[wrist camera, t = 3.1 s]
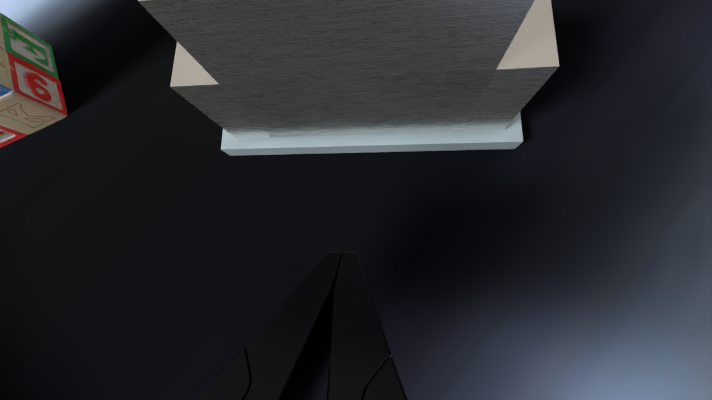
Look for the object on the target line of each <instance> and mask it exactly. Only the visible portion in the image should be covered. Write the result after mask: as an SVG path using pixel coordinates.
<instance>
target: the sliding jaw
mask: <svg viewBox="0 0 712 400" xmlns="http://www.w3.org/2000/svg"><path fill="white" fill-rule="evenodd" d="M138 2H139V3H140V4H141V5H142V6H143V7H144V8H145V9H146V10H147V11H148V12H149V13H150V14H151V15H152V16H153V17H154V18H155V19H156V20H157V21H158V22H159V23H160V24H161V25H162V26H163V27H164V28H165V29H166V30H167V31H168V32H169V33H170V34H171V35H172V37H173V38H174V39H175V40H176V41H177V46H176V52H175V59H174V65H173V72H172V78H171V85H170V87H171V88H172V89H174V90H175V91H176V92H178V93H179V94H180V95H181V96H183V97H184V98H185V99H186V100H188V101H189V102H190V103H192V104H193V105H194V106H195V107H197V108H198V109H199V110H200V111H202V112H203V113H204V114H206V115H207V116H208V117H209V118H211V119H212V120H213V121H214V122H216V123H217V124H218V125H220V126H221V127H222V128H223V129H225V130H226V131H227V132H228V133H230V134H231V135H232V136H234V137H235V138H265V137H298V136H330V135H363V134H396V133H429V132H462V131H495V130H504V129H505V128H506V127H507V126H508V124H509V123H510V122H511V121H512V120H513V119H514V118H515V116H516V115H517V114H518V113H519V112H520V111H521V110H522V108H523V107H524V106H525V105H526V104H527V103H528V102H529V100H530V99H531V98H532V97H533V96H534V95H535V94H536V92H537V91H538V90H539V89H540V88H541V87H542V86H543V84H544V83H545V82H546V81H547V80H548V79H549V78H550V76H551V75H552V74H553V73H554V72H555V71H556V69H557V68H558V67H559V60H558V52H557V44H556V37H555V29H554V21H553V14H552V6H551V0H138Z"/></svg>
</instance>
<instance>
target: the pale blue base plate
mask: <svg viewBox="0 0 712 400" xmlns="http://www.w3.org/2000/svg"><path fill="white" fill-rule="evenodd" d="M522 142H523V135H522V125H521V115H520V112H519V113H518V114H517V115H516V116H515V118H514V119H513V120H512V121H511V122H510V123H509V124H508V126H507V127H506V128H505V129H504V130H495V131H462V132H429V133H396V134H363V135H330V136H298V137H265V138H235V137H234V136H232V135H231V134H230V133H228V132H227V131H226V130H225V129H223V135H222V144H221V150H223V151H224V152H226V153H227V154H229V155H230V156H231V155H274V154H316V153H359V152H401V151H444V150H487V149H515V148H516V147H518V146H519V145H520V144H521V143H522Z"/></svg>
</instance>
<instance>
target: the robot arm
mask: <svg viewBox="0 0 712 400" xmlns="http://www.w3.org/2000/svg"><path fill="white" fill-rule="evenodd" d="M326 396H327V400H408V399H407V397H406V394H405V391H404V389H403V386H402V383H401V381H400V378H399V375H398V372H397V369H396V366H395V363H394V360H393V358H392V357H391V352H390V349H389V346H388V343H387V340H386V337H385V334H384V331H383V328H382V325H381V322H380V319H379V316H378V313H377V310H376V307H375V304H374V301H373V298H372V295H371V292H370V289H369V286H368V283H367V280H366V277H365V274H364V271H363V268H362V265H361V262H360V259H359V256H358V253H357V252H347V251H345V252H343V253H342V252H341V251H329V252H327V253H326V254H325V255H324V257H323V258H322V259H321V260H320V261H319V262H318V263H317V265H316V266H315V267H314V268H313V269H312V270H311V272H310V273H309V274H308V275H307V276H306V277H305V278H304V280H303V281H302V282H301V283H300V284H299V285H298V286H297V288H296V289H295V290H294V291H293V292H292V293H291V294H290V296H289V297H288V298H287V299H286V300H285V301H284V302H283V304H282V305H281V306H280V307H279V308H278V309H277V310H276V312H275V313H274V314H273V315H272V316H271V317H270V318H269V320H268V321H267V322H266V323H265V324H264V325H263V327H262V328H261V329H260V330H259V331H258V332H257V333H256V335H255V336H254V337H253V338H252V339H251V340H250V341H249V343H248V344H247V345H246V349H245V348H243V349H242V350H241V352H240V353H239V354H238V355H237V356H236V357H235V358H234V360H233V361H232V362H231V363H230V364H229V365H228V366H227V367H226V368H225V369H224V371H223V372H222V373H221V374H220V375H219V376H218V377H217V378H216V379H215V380H214V382H213V383H212V384H211V385H210V386H209V387H208V388H207V389H206V390H205V391H204V392H203V393H202V394H201V395H200V396H199V397H198V398H197V399H196V400H326Z"/></svg>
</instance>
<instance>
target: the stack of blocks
mask: <svg viewBox="0 0 712 400" xmlns="http://www.w3.org/2000/svg"><path fill="white" fill-rule="evenodd" d="M67 116H68V114H67V109H66V105H65V101H64V96H63V92H62V88H61V83H60V80H59V78H58V73H57V69H56V64H55V59H54V55H53V50H52V46H51V45H49V44H48V43H46V42H45V41H43V40H42V39H40V38H39V37H37V36H36V35H34V34H33V33H31V32H29V31H28V30H26V29H25V28H23V27H22V26H20V25H19V24H17V23H15V22H14V21H12V20H11V19H9V18H8V17H6V16H5V15H3V14H1V13H0V148H1V147H3V146H5V145H7V144H9V143H12V142H14V141H16V140H18V139H20V138H22V137H24V136H26V135H28V134H31V133H33V132H36V131H38V130H40V129H42V128H44V127H46V126H48V125H51V124H53V123H55V122H57V121H59V120H61V119H63V118H65V117H67Z"/></svg>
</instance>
